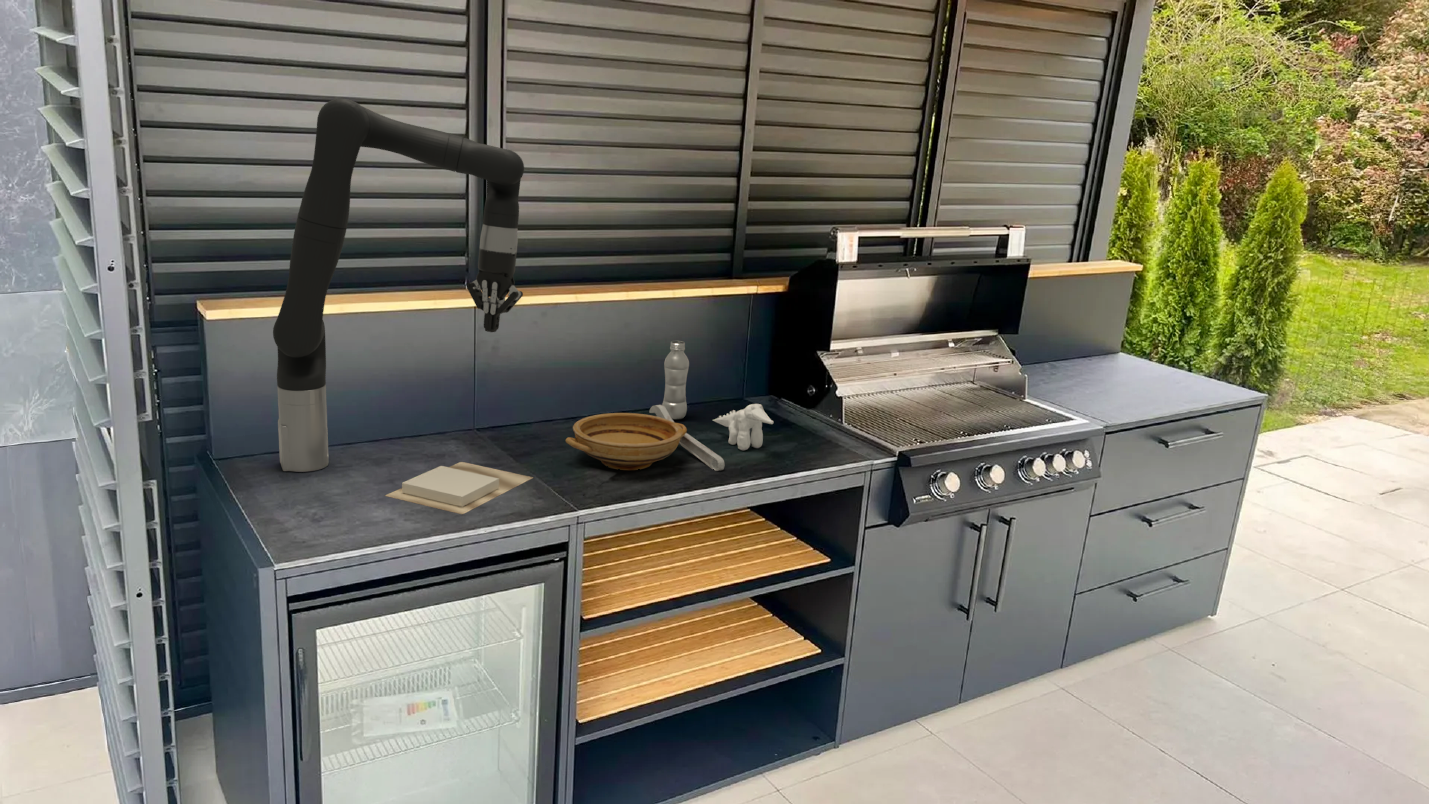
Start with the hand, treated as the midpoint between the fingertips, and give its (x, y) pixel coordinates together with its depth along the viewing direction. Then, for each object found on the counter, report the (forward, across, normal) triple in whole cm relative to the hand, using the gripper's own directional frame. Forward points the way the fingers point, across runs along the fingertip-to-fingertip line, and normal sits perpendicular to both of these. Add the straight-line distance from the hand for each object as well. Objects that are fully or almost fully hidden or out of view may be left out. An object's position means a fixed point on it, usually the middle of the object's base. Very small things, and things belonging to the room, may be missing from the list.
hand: (490, 331), depth 219 cm
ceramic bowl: (+27, +25, +20) cm, 42 cm away
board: (+30, +7, -15) cm, 35 cm away
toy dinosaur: (+24, +42, +46) cm, 67 cm away
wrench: (+26, +33, +33) cm, 54 cm away
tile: (+27, +7, -13) cm, 31 cm away
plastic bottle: (+24, +19, +57) cm, 65 cm away
